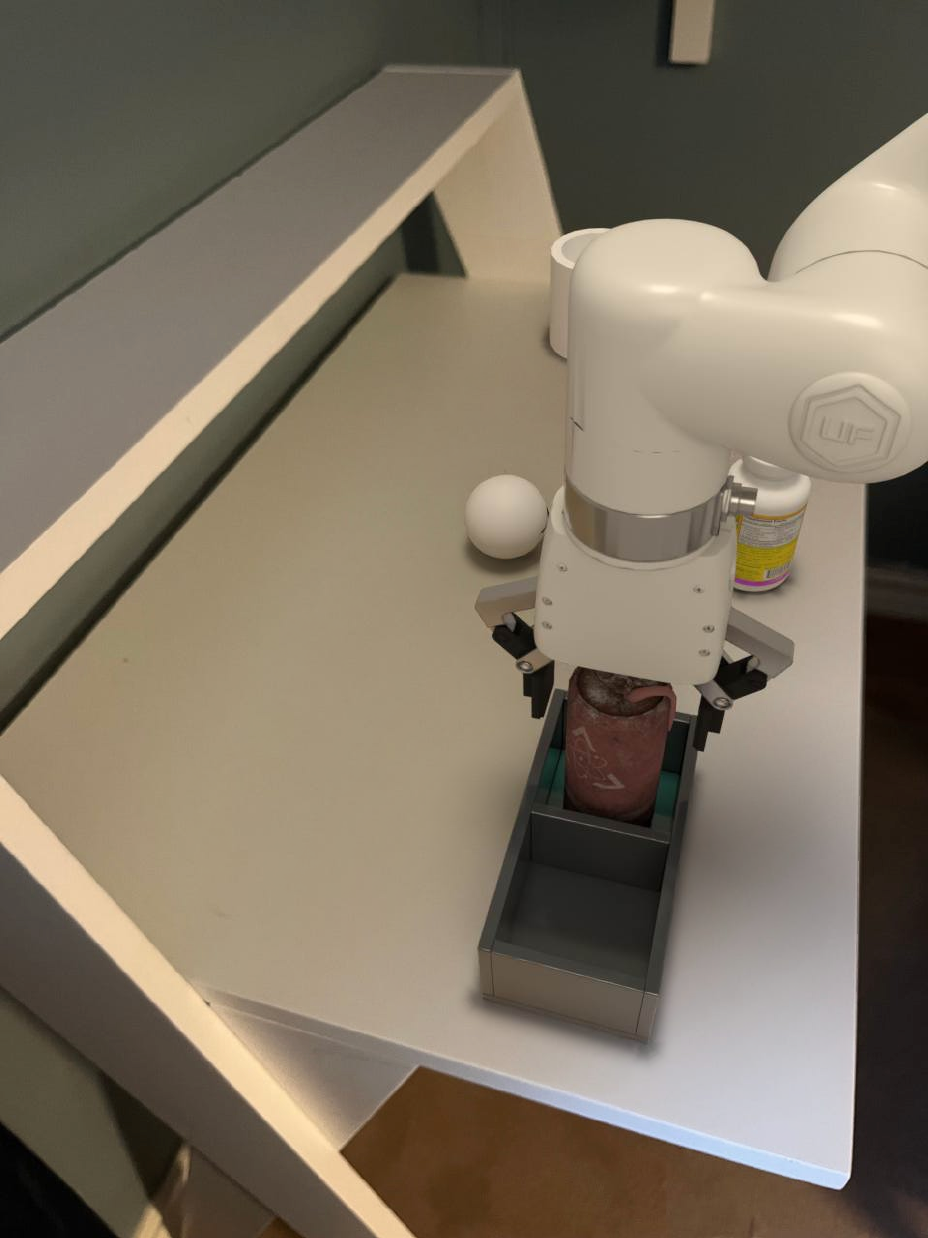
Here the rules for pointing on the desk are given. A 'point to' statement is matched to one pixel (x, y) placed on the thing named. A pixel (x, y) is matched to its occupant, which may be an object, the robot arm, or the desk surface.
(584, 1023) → the grey divided box
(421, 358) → the desk surface
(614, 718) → the can
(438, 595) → the desk surface
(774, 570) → the supplement bottle
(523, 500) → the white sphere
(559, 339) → the mug
